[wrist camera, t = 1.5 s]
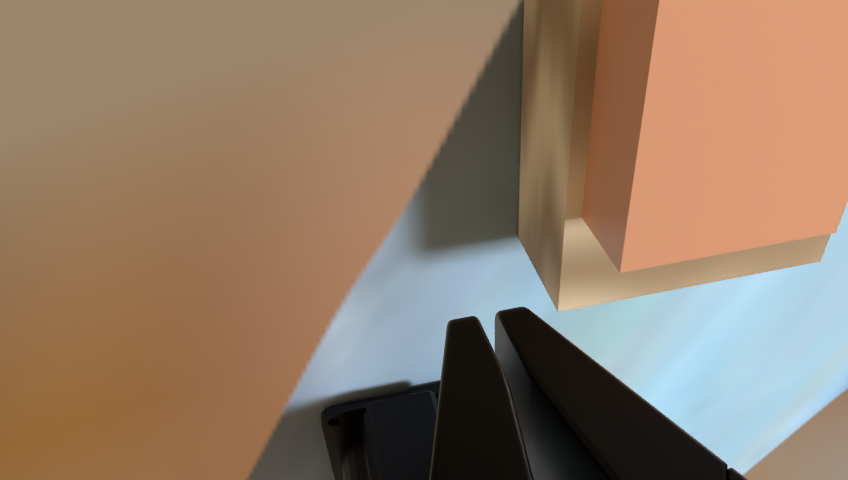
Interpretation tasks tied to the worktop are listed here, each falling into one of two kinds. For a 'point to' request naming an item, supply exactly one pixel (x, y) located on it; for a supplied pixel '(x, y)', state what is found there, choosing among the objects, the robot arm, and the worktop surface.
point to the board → (566, 172)
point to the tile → (716, 127)
